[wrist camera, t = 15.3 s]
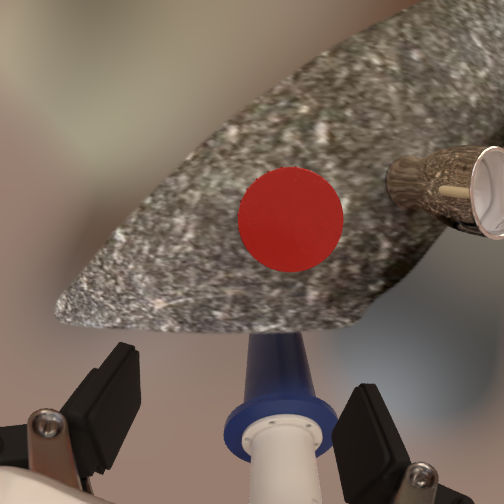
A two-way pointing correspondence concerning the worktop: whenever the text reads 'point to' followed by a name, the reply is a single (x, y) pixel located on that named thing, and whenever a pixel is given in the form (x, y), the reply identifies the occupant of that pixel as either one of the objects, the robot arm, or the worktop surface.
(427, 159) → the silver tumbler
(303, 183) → the red lid
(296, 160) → the worktop surface
